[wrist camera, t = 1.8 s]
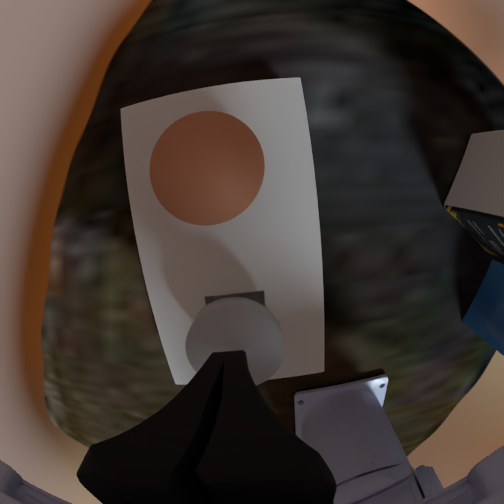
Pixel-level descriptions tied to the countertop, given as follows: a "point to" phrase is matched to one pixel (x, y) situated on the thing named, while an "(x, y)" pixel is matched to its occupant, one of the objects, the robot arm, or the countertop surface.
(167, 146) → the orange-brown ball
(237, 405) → the robot arm
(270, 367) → the grey button
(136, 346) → the countertop surface
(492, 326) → the perfume bottle
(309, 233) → the panel
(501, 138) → the medicine bottle
